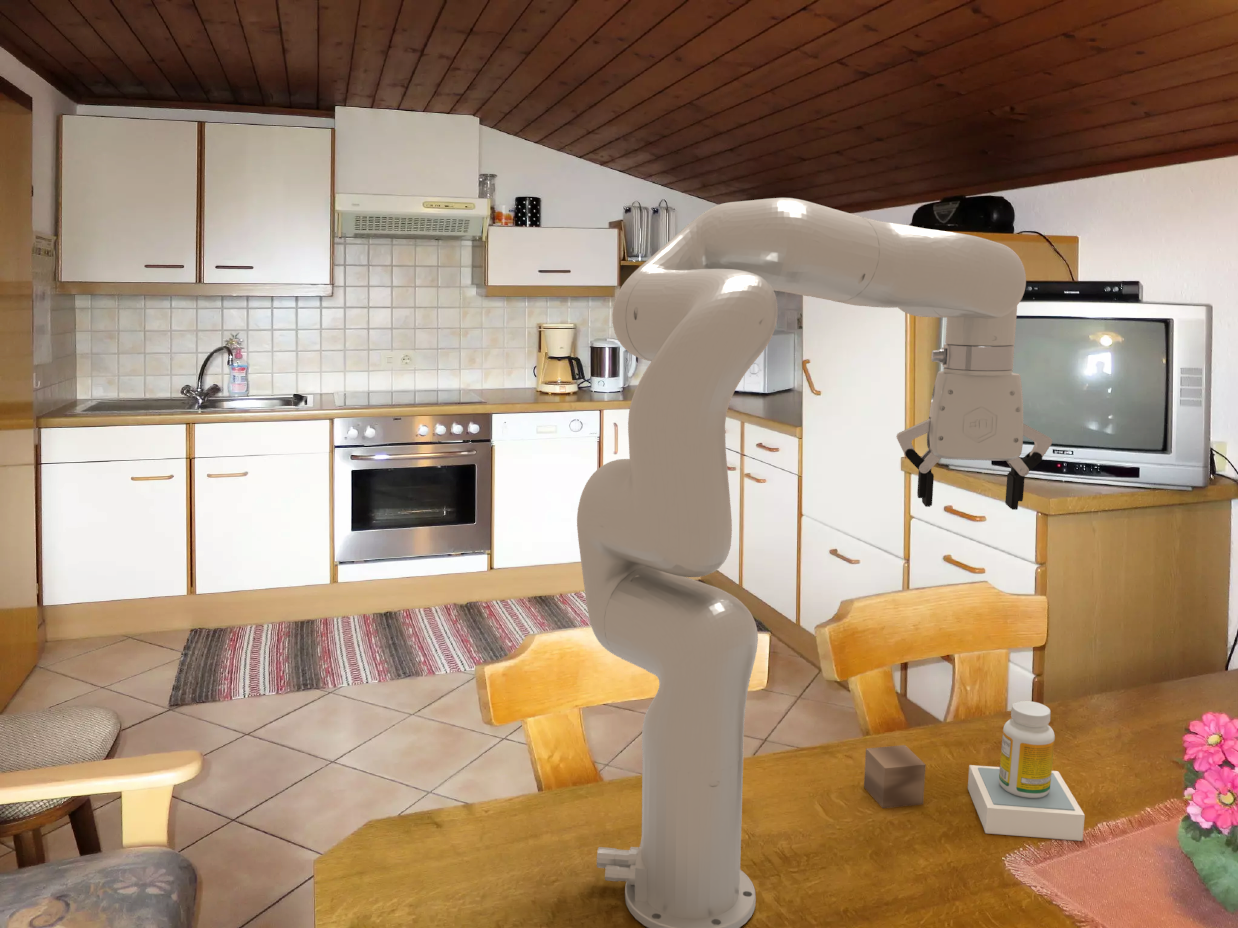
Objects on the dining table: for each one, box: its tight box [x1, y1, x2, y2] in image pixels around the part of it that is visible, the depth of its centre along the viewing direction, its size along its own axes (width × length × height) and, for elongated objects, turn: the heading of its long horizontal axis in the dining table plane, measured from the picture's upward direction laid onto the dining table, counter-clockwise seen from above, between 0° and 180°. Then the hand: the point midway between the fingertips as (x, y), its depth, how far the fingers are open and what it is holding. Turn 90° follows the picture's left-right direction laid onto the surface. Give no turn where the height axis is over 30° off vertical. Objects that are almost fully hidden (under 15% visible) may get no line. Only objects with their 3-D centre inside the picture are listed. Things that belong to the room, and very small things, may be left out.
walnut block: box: [863, 744, 926, 809], centre depth 116 cm, size 5×5×5 cm
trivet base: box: [967, 764, 1086, 842], centre depth 112 cm, size 10×10×3 cm
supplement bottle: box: [999, 700, 1056, 798], centre depth 111 cm, size 5×5×10 cm
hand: (968, 505), depth 117 cm, fingers open, 9 cm apart
